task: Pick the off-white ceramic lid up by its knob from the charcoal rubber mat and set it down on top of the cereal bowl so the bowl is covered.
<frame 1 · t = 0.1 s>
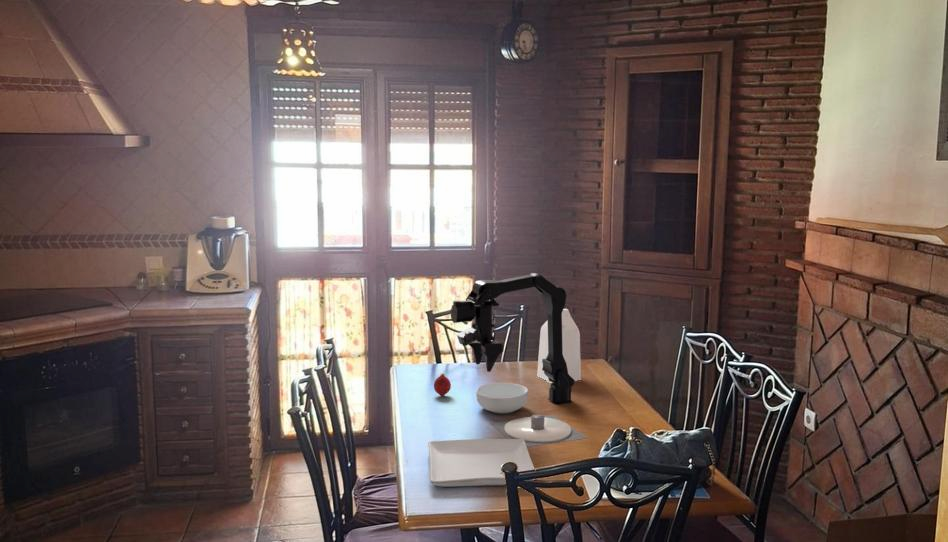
hand: (483, 367, 263), 15 cm above the table, tool pointing down, fingers open, 9 cm apart
cereal bowl: (501, 411, 266), on the table
onion: (442, 396, 281), on the table
milk: (558, 379, 302), on the table
mat: (537, 431, 247), on the table
square plate: (480, 471, 219), on the table
lid: (537, 430, 247), on the table, touching mat
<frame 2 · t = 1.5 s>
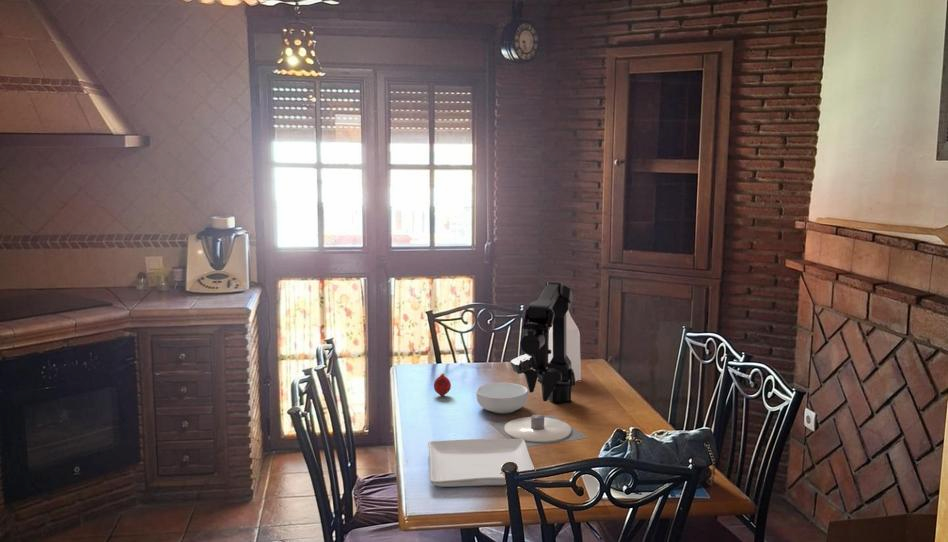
hand: (538, 396, 245), 11 cm above the table, tool pointing down, fingers open, 9 cm apart
nothing on the table moved.
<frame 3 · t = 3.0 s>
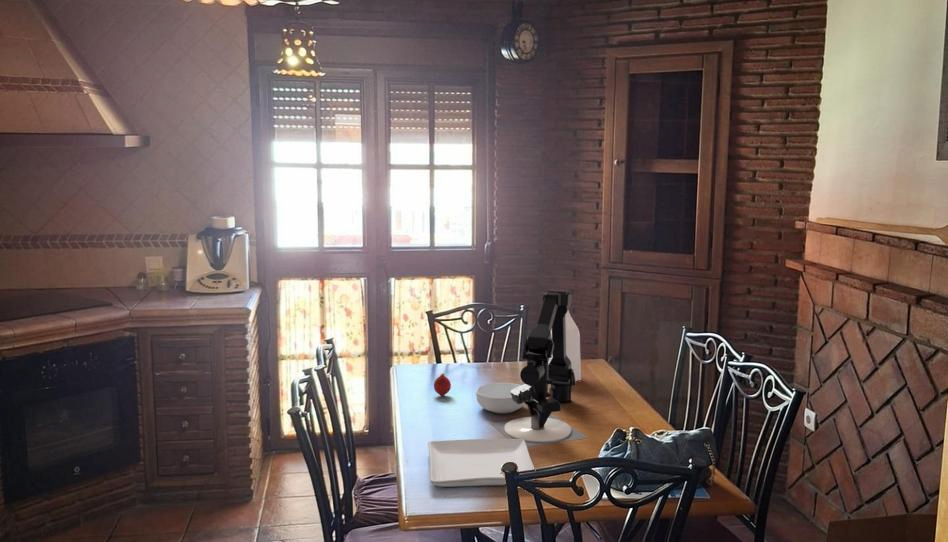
hand: (537, 425, 247), 2 cm above the table, tool pointing down, fingers closed on lid, 4 cm apart
lid: (537, 430, 247), on the table, touching gripper, mat
everything else where it was.
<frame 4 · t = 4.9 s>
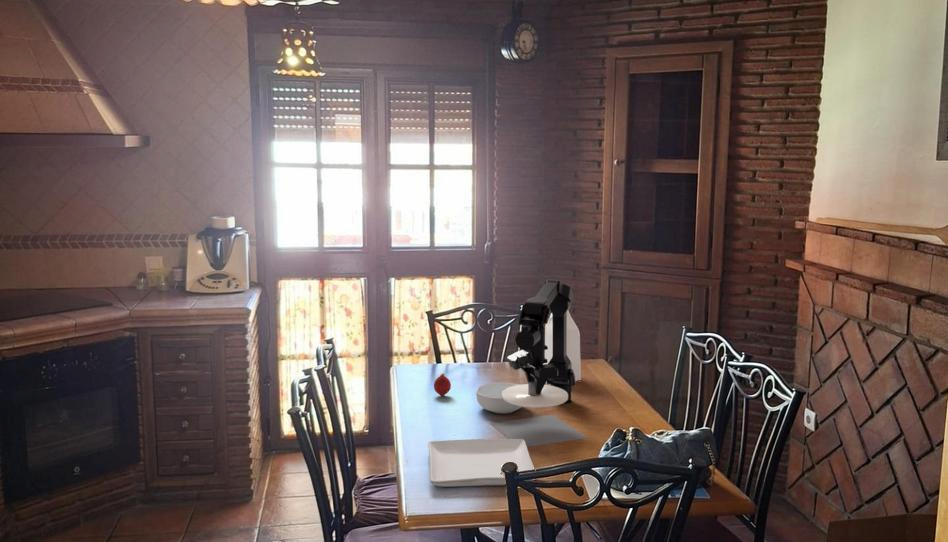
hand: (534, 392, 247), 12 cm above the table, tool pointing down, fingers closed on lid, 4 cm apart
lid: (534, 396, 247), point 10 cm above the table, touching gripper
everything else where it was.
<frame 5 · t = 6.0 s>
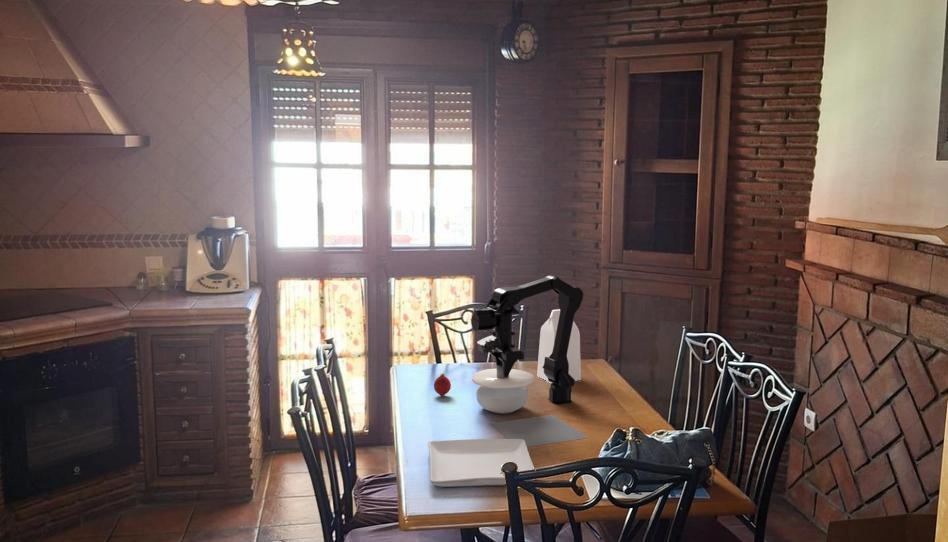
hand: (503, 375, 264), 12 cm above the table, tool pointing down, fingers closed on lid, 4 cm apart
lid: (502, 379, 264), point 11 cm above the table, touching gripper
everything else where it was.
when the fingers open (9 cm above the table, at t = 6.9 s): lid drops 1 cm, resting on cereal bowl.
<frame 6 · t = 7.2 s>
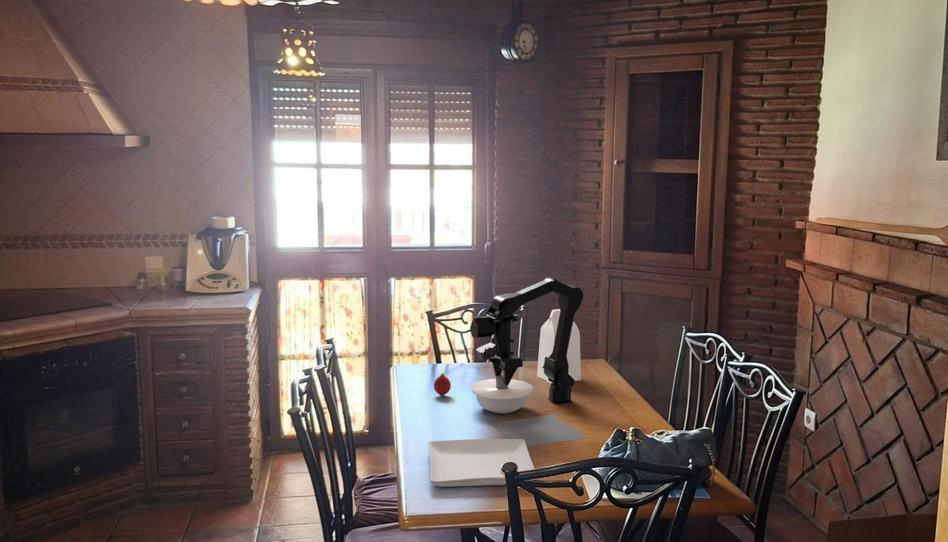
hand: (502, 382, 265), 9 cm above the table, tool pointing down, fingers open, 7 cm apart
cereal bowl: (501, 411, 266), on the table, touching lid
lid: (502, 389, 265), point 7 cm above the table, touching cereal bowl
everything else where it was.
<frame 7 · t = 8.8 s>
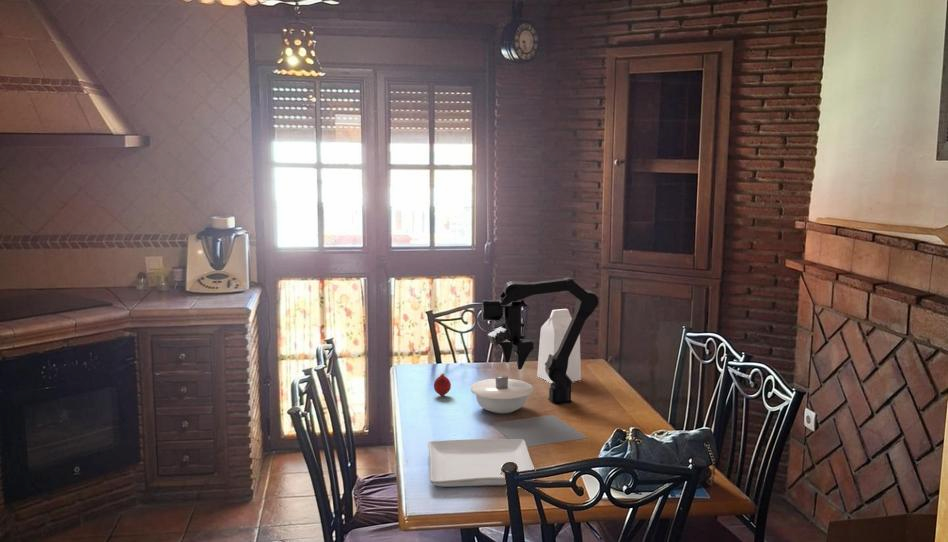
hand: (513, 365, 272), 13 cm above the table, tool pointing down, fingers open, 9 cm apart
nothing on the table moved.
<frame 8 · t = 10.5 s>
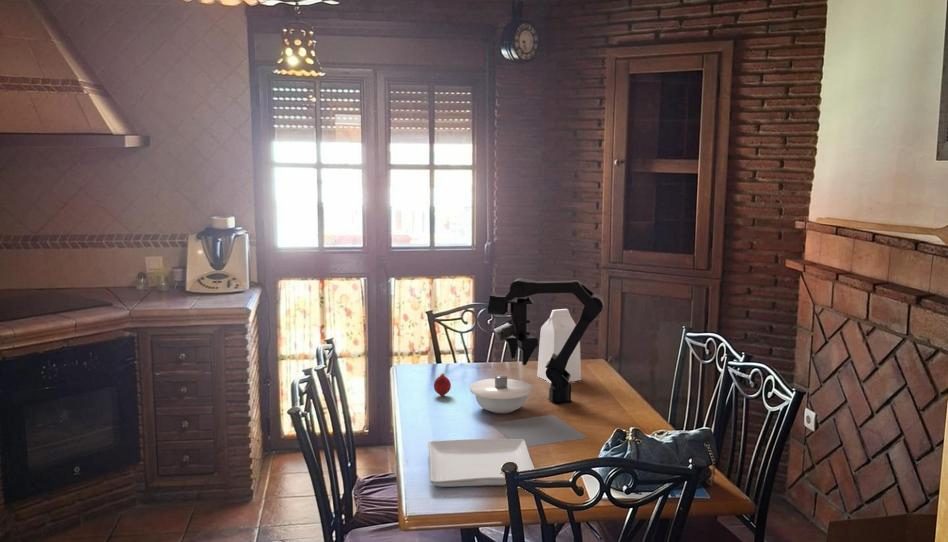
hand: (518, 361, 276), 13 cm above the table, tool pointing down, fingers open, 9 cm apart
nothing on the table moved.
at the end: lid 0.1 cm off-centre on the cereal bowl, point 7.2 cm above the cereal bowl's base; lid tilted 0°; the gripper is holding nothing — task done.
